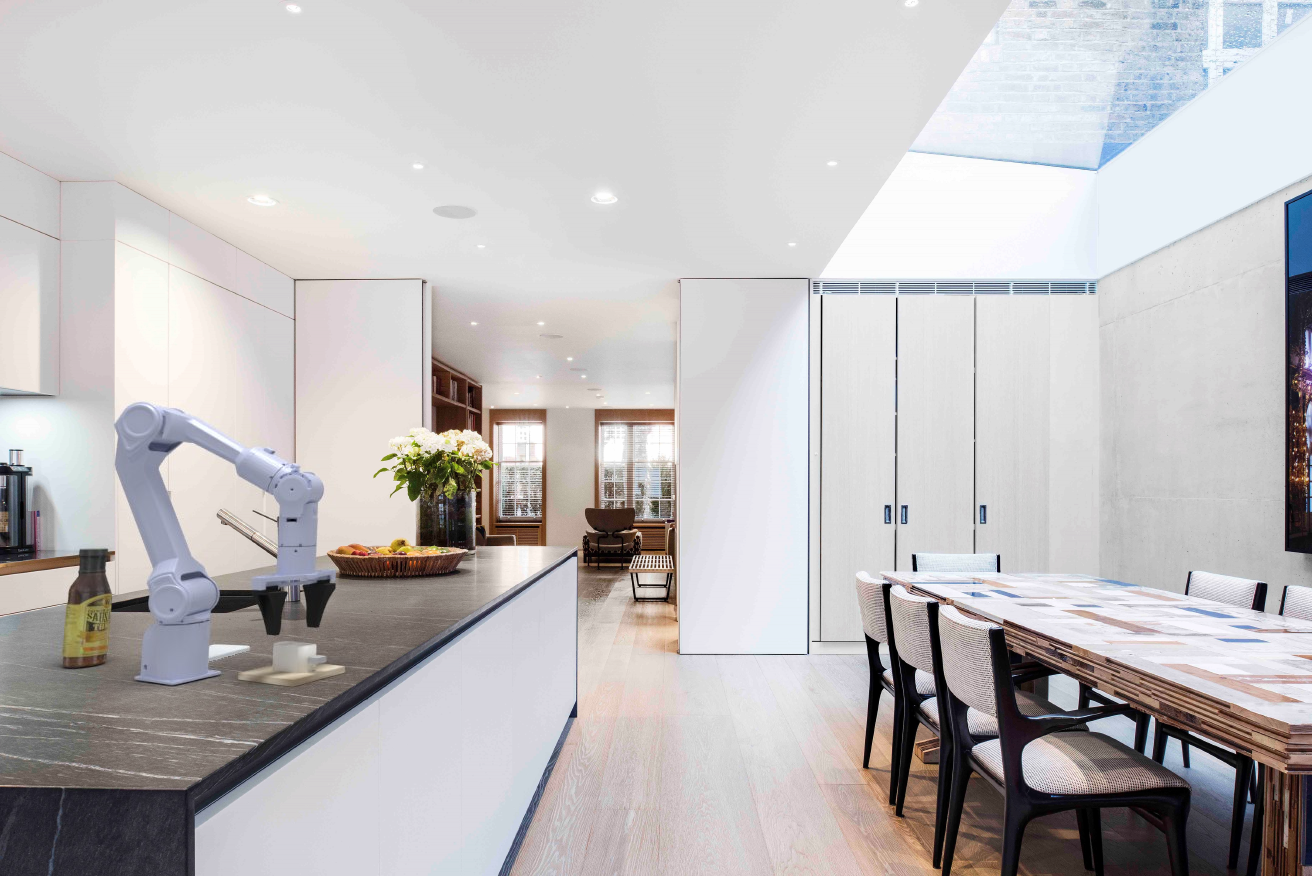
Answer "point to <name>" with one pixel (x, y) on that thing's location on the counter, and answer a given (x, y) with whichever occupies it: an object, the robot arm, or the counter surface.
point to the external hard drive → (225, 651)
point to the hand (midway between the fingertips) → (293, 631)
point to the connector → (296, 657)
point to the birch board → (290, 675)
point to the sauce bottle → (88, 612)
